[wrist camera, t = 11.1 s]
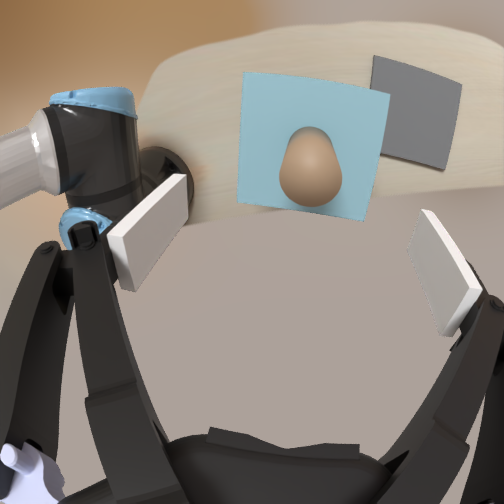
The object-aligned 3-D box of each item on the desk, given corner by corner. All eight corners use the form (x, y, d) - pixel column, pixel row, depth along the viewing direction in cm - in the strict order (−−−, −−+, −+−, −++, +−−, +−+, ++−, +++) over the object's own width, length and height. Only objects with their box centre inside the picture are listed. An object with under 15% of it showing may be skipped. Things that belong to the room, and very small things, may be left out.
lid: (239, 197, 32) (212, 247, 24) (245, 72, 24) (214, 70, 16) (362, 216, 31) (378, 272, 23) (387, 93, 23) (425, 103, 14)
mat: (361, 147, 43) (361, 148, 42) (373, 55, 34) (374, 55, 33) (443, 168, 41) (445, 169, 40) (459, 84, 32) (462, 84, 31)
